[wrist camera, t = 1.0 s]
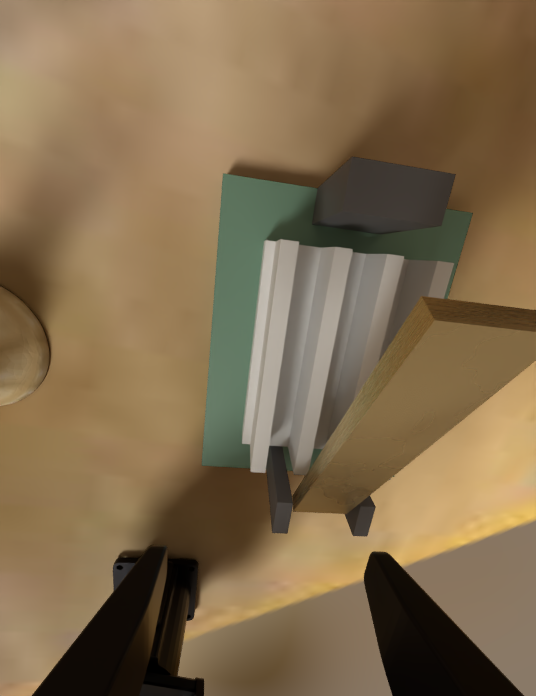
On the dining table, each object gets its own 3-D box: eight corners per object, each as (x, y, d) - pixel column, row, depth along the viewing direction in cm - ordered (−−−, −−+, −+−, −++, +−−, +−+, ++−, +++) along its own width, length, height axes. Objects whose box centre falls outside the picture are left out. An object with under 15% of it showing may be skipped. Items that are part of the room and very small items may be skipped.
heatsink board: (388, 467, 23) (439, 545, 17) (203, 456, 22) (186, 537, 15) (460, 215, 18) (574, 194, 12) (224, 178, 16) (211, 132, 10)
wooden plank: (344, 498, 17) (346, 513, 17) (292, 495, 17) (293, 511, 16) (542, 311, 7) (566, 335, 6) (421, 295, 7) (435, 320, 6)
